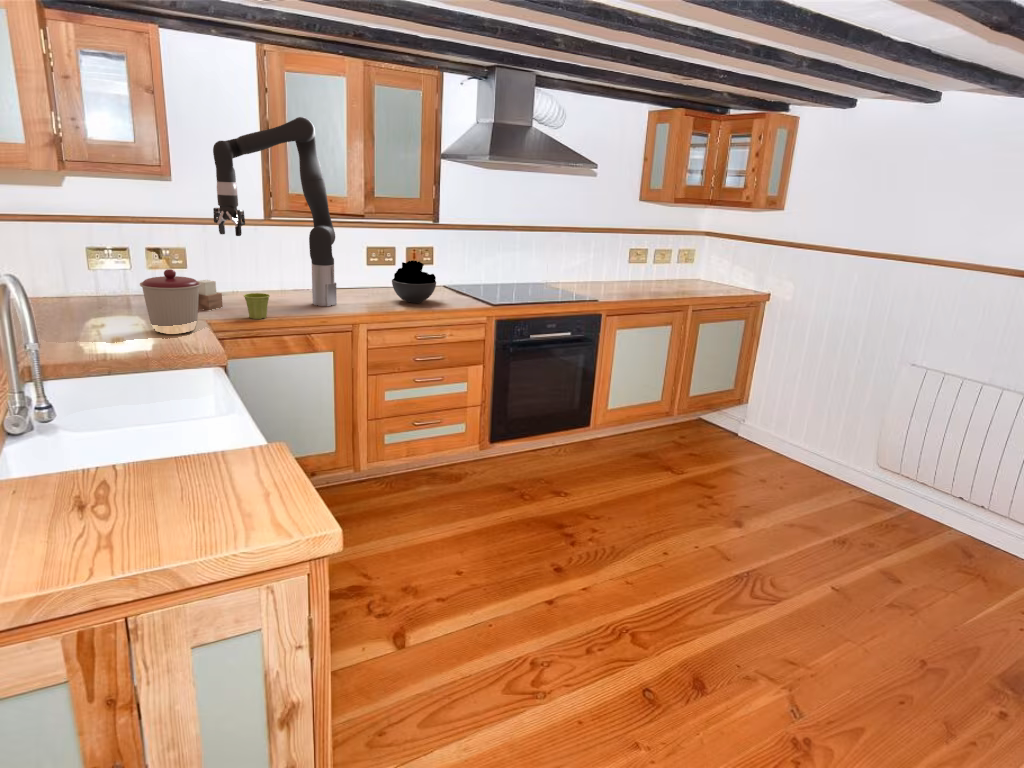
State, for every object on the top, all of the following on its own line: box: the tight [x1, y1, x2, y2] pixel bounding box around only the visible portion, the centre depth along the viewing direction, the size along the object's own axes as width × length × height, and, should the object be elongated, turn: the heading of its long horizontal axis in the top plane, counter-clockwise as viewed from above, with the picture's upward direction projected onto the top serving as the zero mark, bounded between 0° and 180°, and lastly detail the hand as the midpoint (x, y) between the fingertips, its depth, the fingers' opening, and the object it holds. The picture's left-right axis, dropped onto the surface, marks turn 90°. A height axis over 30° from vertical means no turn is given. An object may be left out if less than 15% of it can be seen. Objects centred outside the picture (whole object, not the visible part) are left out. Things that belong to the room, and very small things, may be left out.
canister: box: [139, 268, 201, 326], centre depth 218 cm, size 18×18×21 cm
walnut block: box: [198, 292, 224, 311], centre depth 258 cm, size 8×8×6 cm
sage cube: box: [197, 279, 217, 295], centre depth 256 cm, size 5×5×5 cm
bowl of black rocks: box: [391, 260, 437, 304], centre depth 296 cm, size 20×20×19 cm
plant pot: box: [242, 292, 271, 320], centre depth 247 cm, size 9×9×9 cm
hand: (230, 235), depth 265 cm, fingers open, 8 cm apart
